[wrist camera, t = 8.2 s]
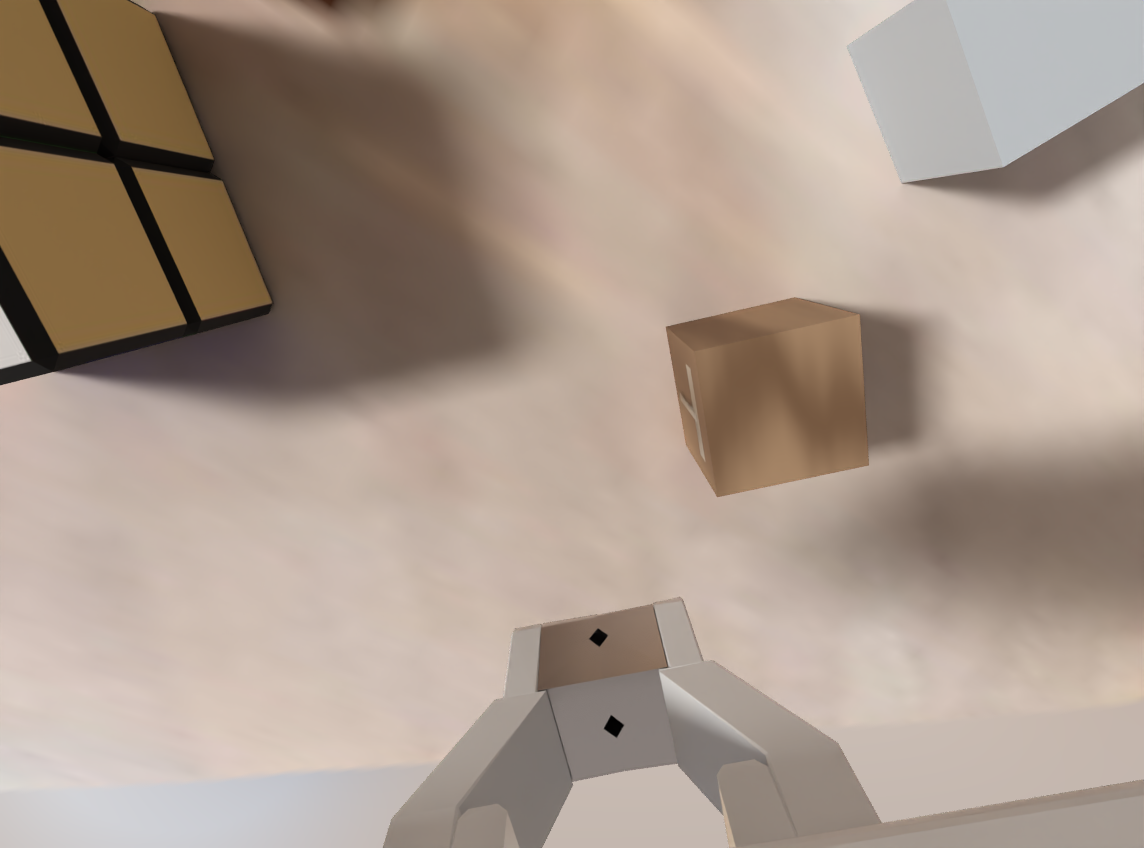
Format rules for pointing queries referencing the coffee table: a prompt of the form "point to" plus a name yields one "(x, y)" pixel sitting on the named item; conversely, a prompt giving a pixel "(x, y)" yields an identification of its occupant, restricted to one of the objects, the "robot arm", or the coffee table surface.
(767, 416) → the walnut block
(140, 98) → the puzzle cube
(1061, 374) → the coffee table surface
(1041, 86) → the grey-blue block
